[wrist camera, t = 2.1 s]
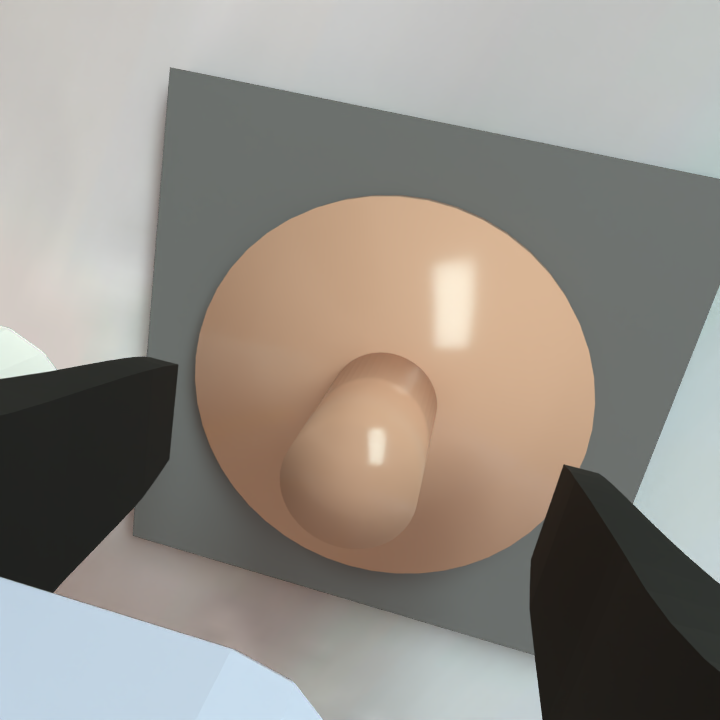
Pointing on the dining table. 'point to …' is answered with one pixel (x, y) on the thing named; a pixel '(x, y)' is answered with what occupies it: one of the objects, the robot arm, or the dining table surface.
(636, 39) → the dining table surface
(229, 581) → the dining table surface
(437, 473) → the lid
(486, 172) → the mat
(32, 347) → the white cup
